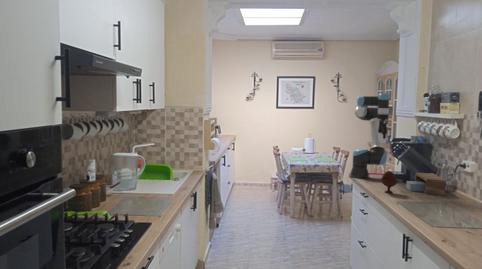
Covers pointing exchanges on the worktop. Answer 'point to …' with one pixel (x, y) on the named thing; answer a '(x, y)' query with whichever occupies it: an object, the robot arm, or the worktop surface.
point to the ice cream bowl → (389, 181)
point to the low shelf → (432, 183)
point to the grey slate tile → (415, 185)
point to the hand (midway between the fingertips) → (381, 142)
